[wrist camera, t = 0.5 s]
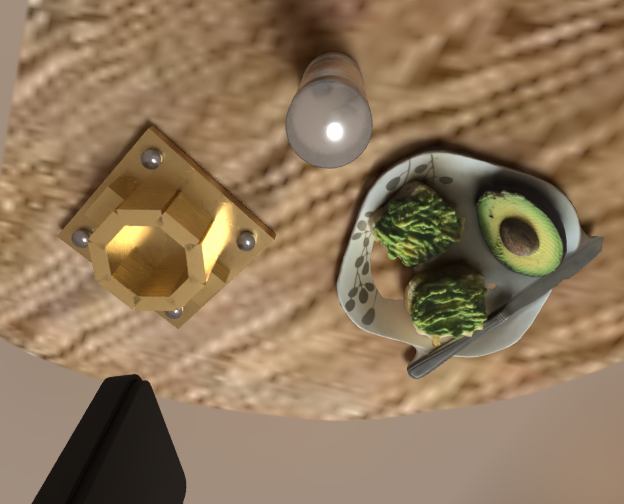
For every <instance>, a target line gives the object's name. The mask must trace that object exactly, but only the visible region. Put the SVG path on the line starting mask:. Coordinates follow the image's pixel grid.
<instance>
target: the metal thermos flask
mask: <svg viewBox="0 0 624 504" xmlns="http://www.w3.org/2000/svg"><path fill="white" fill-rule="evenodd" d="M372 127H373V124H372V115H371V111H370V107H369V103H368V101H367V98H366V94H365V90H364V82H363V77H362V74H361V71H360V69H359V67H358V65H357V64H356V63H355V61H354V60H353V59H351V58H350V57H349V56H347V55H345V54H342V53H339V52H327V53H323V54H321V55H319V56H317V57H316V58H314V59H313V60H312V61H311V62H310V63H309V65H308V66H307V68H306V70H305V72H304V74H303V77H302V80H301V83H300V86H299V88H298V90H297V93H296V94H295V96H294V98H293V100H292V102H291V104H290V107H289V109H288V112H287V116H286V134H287V138H288V141H289V143H290V145H291V147H292V149H293V150H294V152H295V153H296V154H297V155H298V156H299V157H300V158H301V159H302V160H304V161H305V162H307V163H309V164H311V165H313V166H316V167H320V168H338V167H342V166H345V165H347V164H349V163H351V162H352V161H354V160H355V159H357V158H358V157H359V156H360V155H361V154H362V153H363V151H364V150H365V149H366V147H367V145H368V143H369V141H370V138H371V134H372Z"/></svg>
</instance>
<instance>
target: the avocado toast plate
mask: <svg viewBox="0 0 624 504" xmlns="http://www.w3.org/2000/svg"><path fill="white" fill-rule="evenodd" d="M446 184H447V185H446ZM374 239H375V240H376V241H377V242H378V243H379V244H380V243H381V244H382V245H383V246H385V247H386V248H387V249H388V250H389V252H388V254H387V256H388V257H389V258H390V259H396V258H397V257H399V258H400V259H401V260H402V263H403V264H404V265H405V266H411V267H413V275H414V277H413V278H412V279H411V280H410V281H409V282H408V284H407V286H406V289H405V293H404V300H392V299H385V298H383V297H382V296H381V295H380V293H379V292H378V290H377V288H376V286H375V284H374V281H373V278H372V275H371V270H370V255H371V250H372V247H373V242H374ZM603 239H604V237H602V236H588V235H586V234H585V233H584V232H583V230H582V228H581V225H580V223H579V219H578V216H577V212H576V210H575V208H574V206H573V205H572V202H571V201H570V200H569V199H568V198H567V197H566V195H565V194H564V192H563V191H561V190H560V189H559V188H557V187H556V186H554V185H553V184H551V183H549V182H547V181H545V180H543V179H541V178H538V177H535V176H532V175H530V174H528V173H526V172H524V171H522V170H520V169H518V168H513V167H509V166H505V165H502V164H499V163H496V162H493V161H490V160H488V159H485V158H482V157H479V156H476V155H474V154H472V153H469V152H467V151H464V150H457V149H452V148H447V147H442V146H431V147H427V148H424V149H421V150H418V151H416V152H414V153H411V154H409V155H407V156H405V157H404V158H402V159H400V160H398V161H396V162H394V163H393V164H392V165H390V166H389V167H388V168H387V169H385V170H384V171H383V172H382V173H381V174H380V175H379V176H378V177H377V178H376V179H375V181H374V182H373V184H372V185H371V186H370V188H369V189H368V190H367V192H366V194H365V196H364V197H363V199H362V201H361V204H360V206H359V209H358V213H357V218H356V222H355V225H354V228H353V231H352V233H351V236H350V239H349V242H348V245H347V248H346V250H345V254H344V257H343V261H342V263H341V267H340V271H339V276H338V279H337V284H336V286H337V294H338V297H339V301H340V305H341V306H342V307H343V309H344V311H345V312H346V314H347V315H348V316H349V318H350V320H351V322H352V323H353V324H354V325H355V326H357V327H359V328H361V329H363V330H365V331H367V332H370V333H372V334H376V335H379V336H383V337H387V338H390V339H393V340H398V341H402V342H405V343H408V344H410V345H412V346H413V347H415V348H416V351H417V352H416V355H415V357H414V359H413V360H412V361H411V362H410V363H409V365H408V367H407V371H408V374H409V376H410V377H412V378H414V379H419V378H422V377H424V376H425V375H427V374H429V373H430V372H431V371H433V370H434V369H436V368H437V367H438V366H440V365H441V364H443V363H444V362H445V361H447V360H448V359H449V358H451V357H452V356H458V357H478V356H483V355H487V354H491V353H493V352H496V351H499V350H502V349H504V348H507V347H509V346H511V345H512V344H514V343H515V342H517V341H518V340H519V339H520V338H521V337H522V335H523V334H524V333H525V332H526V330H527V329H528V328H529V327H530V325H531V324H532V322H533V321H534V319H535V317H536V316H537V314H538V313H539V311H540V309H541V308H542V306H543V304H544V303H545V301H546V300H547V298H548V296H549V294H550V292H551V290H552V288H553V287H555V286H557V285H558V284H559V283H560V282H561V281H562V280H564V279H570V278H571V277H572V276H573V275H575V274H576V273H578V272H579V271H580V270H581V269H583V268H584V267H585V266H586V265H587V264H589V263H590V262H591V261H592V260H593V259H594V258H595V257H596V256H597V255H598V254H599V253H600V252H601V250H602V242H603ZM490 283H494V284H495V285H496V287H495V289H493V290H490V289H488V288H487V287H486V286H487V285H488V284H490Z"/></svg>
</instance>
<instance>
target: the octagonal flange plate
mask: <svg viewBox="0 0 624 504" xmlns="http://www.w3.org/2000/svg"><path fill="white" fill-rule="evenodd" d="M58 237H59V238H60V239H61V240H63V241H64V242H65V243H67V244H68V245H69V246H71V247H72V248H73V249H74V250H76V251H77V252H78V253H80V254H81V255H82V256H84V257H85V258H86V259H88V260H89V261H90V262H91V263H92V265H93V269H94V274H95V278H96V280H100V282H99V283H98V284H100V285H101V286H102V287H104V288H105V289H106V290H108V291H109V292H110V293H112V294H113V295H114V296H116V297H117V298H118V299H120V300H121V301H122V302H124V303H125V304H126V305H128V306H129V307H130V308H131V309H132V308H133V307H134V306H135V309H136V310H150V311H155V312H157V313H158V314H159V315H161V316H162V317H163V318H165V319H166V320H167V321H168V322H170V323H171V324H172V325H174V326H175V327H176V328H178V329H179V328H180V327H181V326H182V325H183V324H184V323H185V322H186V321H187V320H188V319H190V318H191V317H192V316H193V315H194V314H195V313H196V312H197V311H198V310H199V309H200V308H201V307H203V306H204V305H205V304H206V303H207V302H208V301H209V300H210V299H211V298H212V297H213V296H215V295H216V294H217V293H218V292H219V291H220V290H221V289H222V288H223V287H224V286H225V285H226V284H228V283H229V282H230V281H231V280H232V279H233V278H234V277H235V276H236V275H237V274H238V273H239V272H241V271H242V270H243V269H244V268H245V267H246V266H247V265H248V264H249V263H250V262H251V261H252V260H254V259H255V258H256V257H257V256H258V255H259V254H260V253H261V252H262V251H263V250H264V249H266V248H267V247H268V246H269V245H270V244H271V243H272V242H273V241H274V240H275V237H276V234H275V233H274V232H273V231H271V230H270V229H269V228H268V227H267V226H266V225H265V224H264V223H263V222H261V221H260V220H259V219H258V218H257V217H256V216H255V215H254V214H252V213H251V212H250V211H249V210H248V209H247V208H246V207H245V206H244V205H242V204H241V203H240V202H239V201H238V200H237V199H236V198H235V197H233V196H232V195H231V194H230V193H229V192H228V191H227V190H226V189H225V188H223V187H222V186H221V185H220V184H219V183H218V182H217V181H216V180H215V179H213V178H212V177H211V176H210V175H209V174H208V173H207V172H206V171H204V170H203V169H202V168H201V167H200V166H199V165H198V164H197V163H196V162H194V161H193V160H192V159H191V158H190V157H189V156H188V155H187V154H185V153H184V152H183V151H182V150H181V149H180V148H179V147H178V146H177V145H175V144H174V143H173V142H172V141H171V140H170V139H169V138H168V137H166V136H165V135H164V134H163V133H162V132H161V131H160V130H159V129H158V128H156V127H155V126H154V125H152V126H151V127H149V128H148V129H147V131H146V132H145V133H144V134H143V135H142V136H141V138H140V139H139V140H138V141H137V142H136V144H135V145H134V146H133V147H132V148H131V150H130V151H129V152H128V153H127V154H126V155H125V157H124V158H123V159H122V160H121V161H120V163H119V164H118V165H117V166H116V167H115V168H114V170H113V171H112V172H111V173H110V174H109V176H108V177H107V178H106V179H105V180H104V182H103V183H102V184H101V185H100V186H99V187H98V189H97V190H96V191H95V192H94V193H93V195H92V196H91V197H90V198H89V199H88V200H87V202H86V203H85V204H84V205H83V206H82V208H81V209H80V210H79V211H78V212H77V213H76V215H75V216H74V217H73V218H72V219H71V221H70V222H69V223H68V224H67V225H66V227H65V228H64V229H63V230H62V231H61V232H60V234H59V235H58Z"/></svg>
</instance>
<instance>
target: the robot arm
mask: <svg viewBox="0 0 624 504" xmlns="http://www.w3.org/2000/svg"><path fill="white" fill-rule="evenodd" d="M185 493H186V478H185V475H184V472H183V469H182V466H181V464H180V461H179V458H178V456H177V453H176V450H175V448H174V445H173V442H172V440H171V437H170V434H169V432H168V429H167V427H166V424H165V421H164V419H163V416H162V413H161V411H160V408H159V405H158V403H157V400H156V397H155V395H154V392H153V389H152V387H151V385H150V383H149V382H148V381H146V380H145V381H142V379H141V377H139V376H138V375H136V374H132V375H123V376H115V377H108V378H106V379H105V380H104V382H103V383H102V385H101V386H100V388H99V390H98V391H97V393H96V395H95V397H94V398H93V400H92V402H91V403H90V405H89V407H88V408H87V410H86V412H85V414H84V415H83V417H82V419H81V420H80V422H79V424H78V426H77V427H76V429H75V431H74V432H73V434H72V436H71V437H70V439H69V441H68V443H67V444H66V446H65V448H64V450H63V451H62V453H61V454H60V456H59V458H58V460H57V461H56V463H55V465H54V467H53V468H52V470H51V472H50V473H49V475H48V477H47V478H46V480H45V482H44V484H43V485H42V487H41V489H40V491H39V492H38V494H37V495H36V497H35V499H34V501H33V502H32V504H183V501H184V498H185Z"/></svg>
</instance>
